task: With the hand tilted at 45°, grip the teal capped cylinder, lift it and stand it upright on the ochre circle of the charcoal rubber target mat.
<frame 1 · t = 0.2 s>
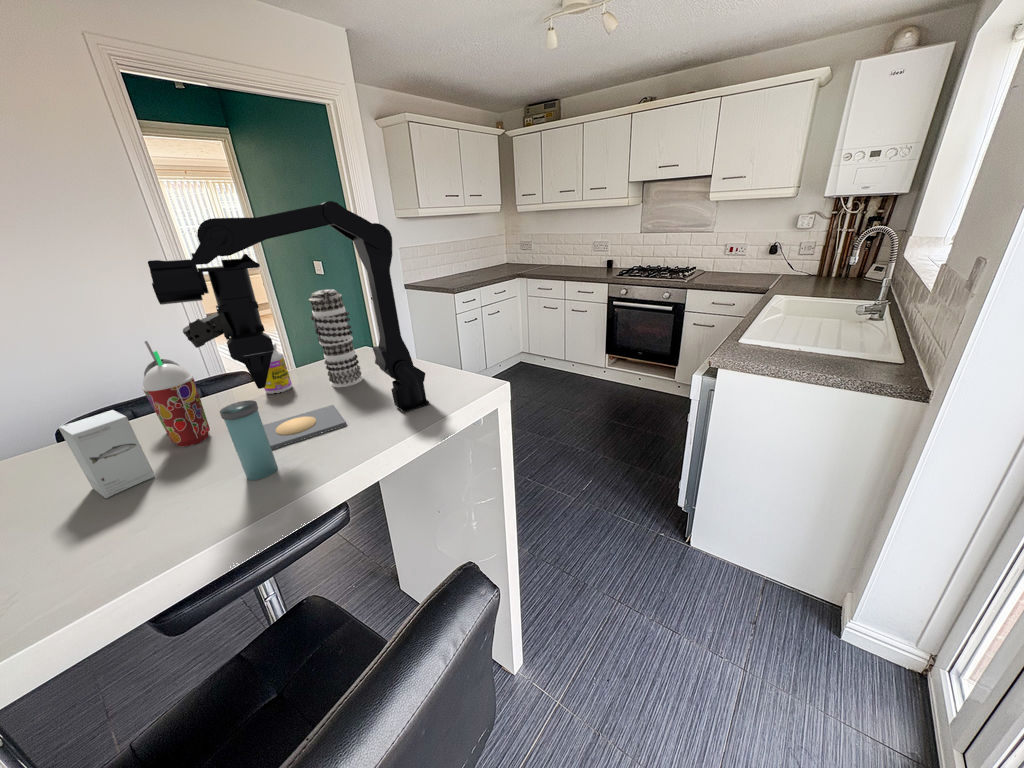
hand: (258, 381, 77), 14 cm above the table, tool pointing down, fingers open, 9 cm apart
supplement box: (125, 483, 75), on the table
decorative candle: (346, 382, 114), on the table
smoothie: (193, 441, 88), on the table
supplement bottle: (279, 390, 113), on the table
beverage cup: (185, 423, 97), on the table
teal capped cylinder: (262, 471, 74), on the table
target mat: (297, 429, 89), on the table
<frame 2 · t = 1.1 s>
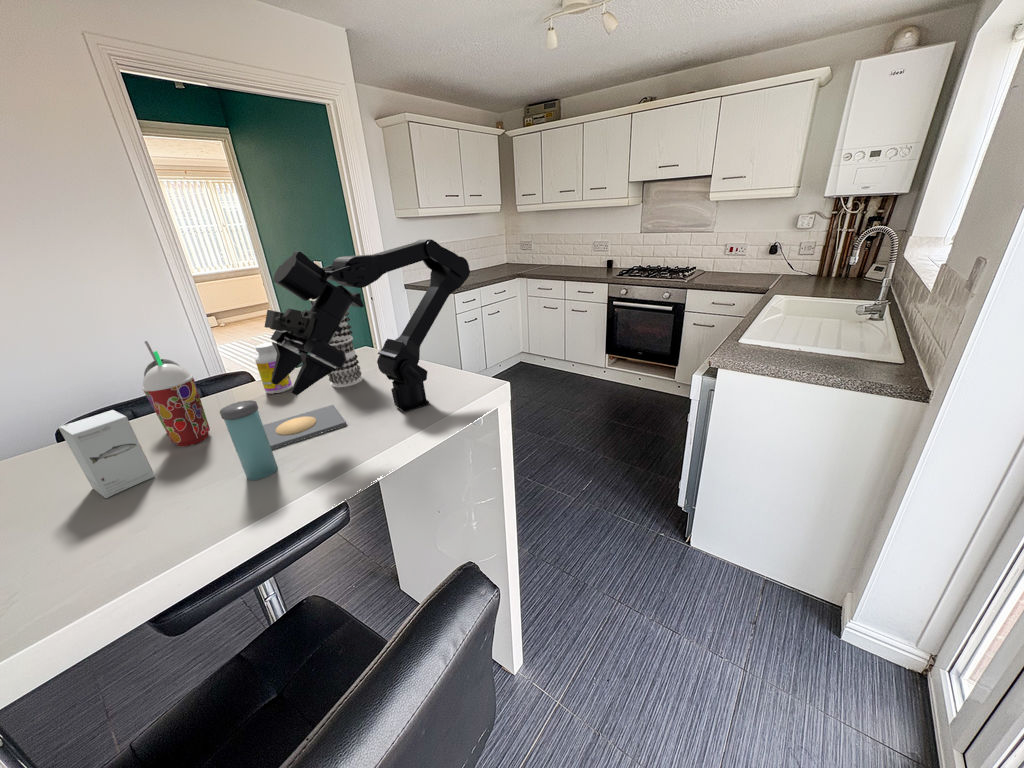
hand: (283, 388, 74), 14 cm above the table, tool tilted 45°, fingers open, 9 cm apart
nothing on the table moved.
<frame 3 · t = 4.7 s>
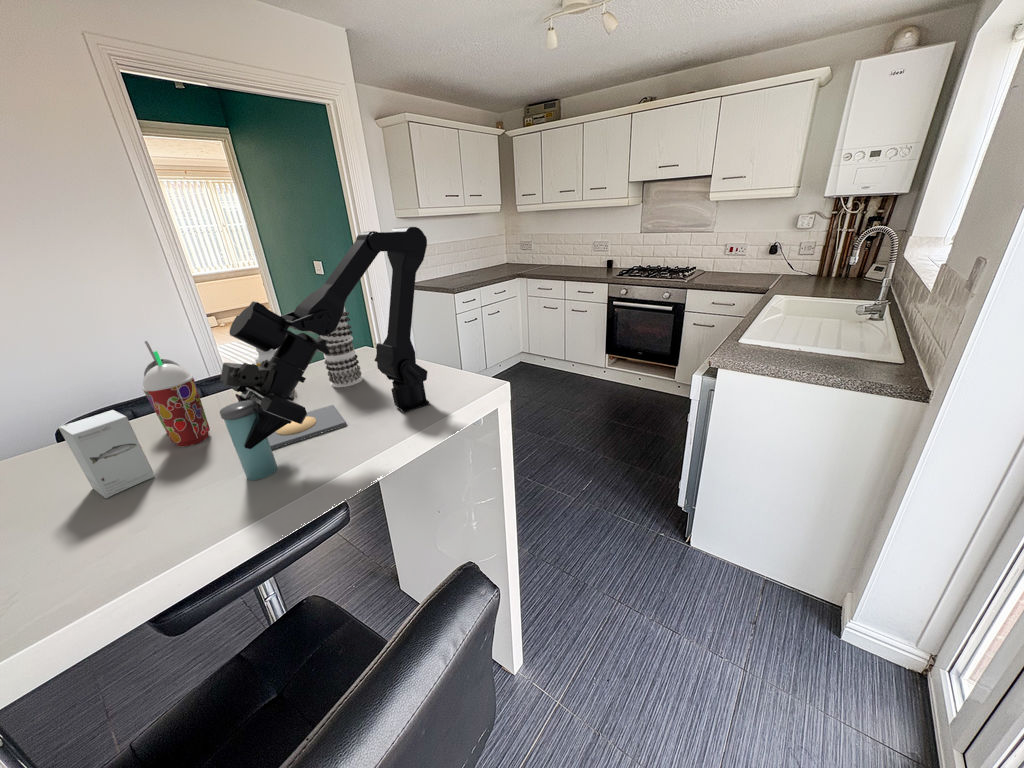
hand: (241, 443, 71), 7 cm above the table, tool tilted 45°, fingers closed on teal capped cylinder, 5 cm apart
teal capped cylinder: (262, 471, 74), on the table, touching gripper
everything else where it was.
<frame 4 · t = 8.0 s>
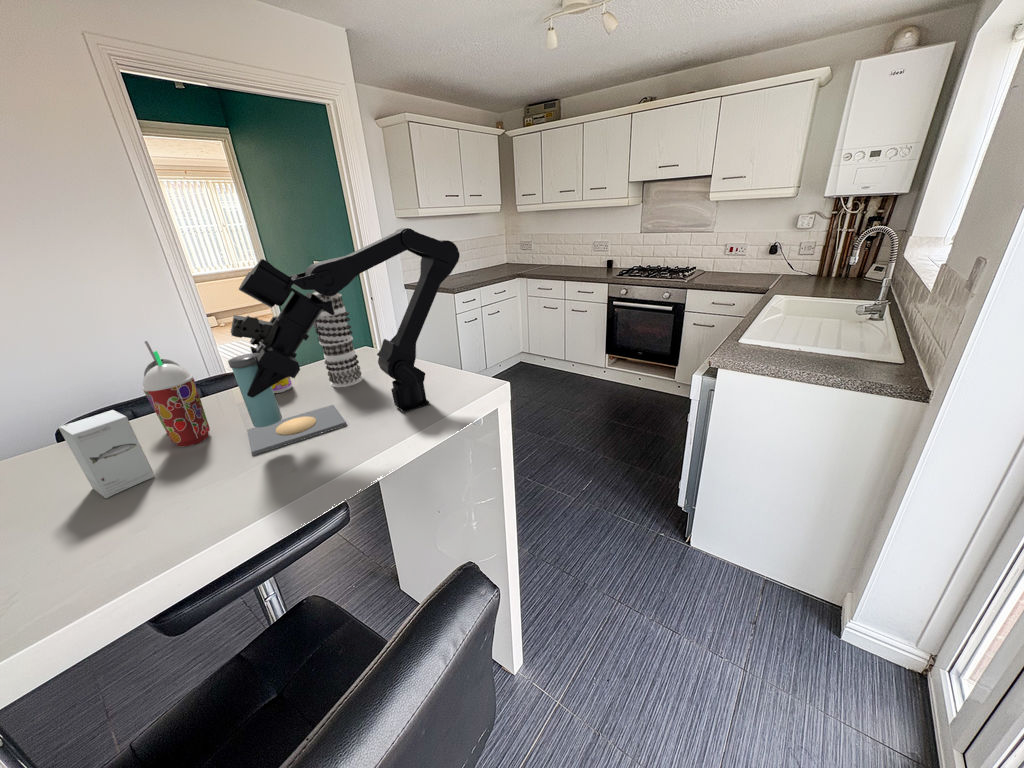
hand: (248, 392, 76), 13 cm above the table, tool tilted 45°, fingers closed on teal capped cylinder, 5 cm apart
teal capped cylinder: (267, 421, 80), point 6 cm above the table, touching gripper
everything else where it was.
when the fingers open (8 cm above the table, at t = 11.1 s): teal capped cylinder stays where it is, resting on target mat.
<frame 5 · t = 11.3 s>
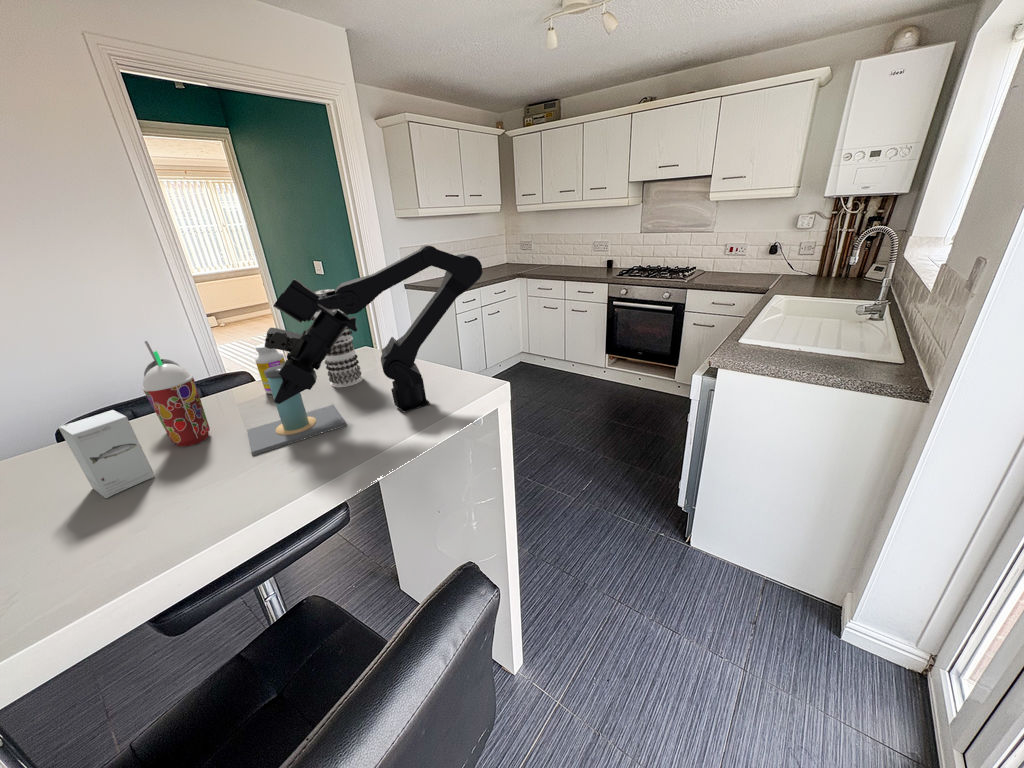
hand: (279, 395, 86), 8 cm above the table, tool tilted 45°, fingers open, 7 cm apart
teal capped cylinder: (296, 425, 89), point 1 cm above the table, touching target mat
everything else where it was.
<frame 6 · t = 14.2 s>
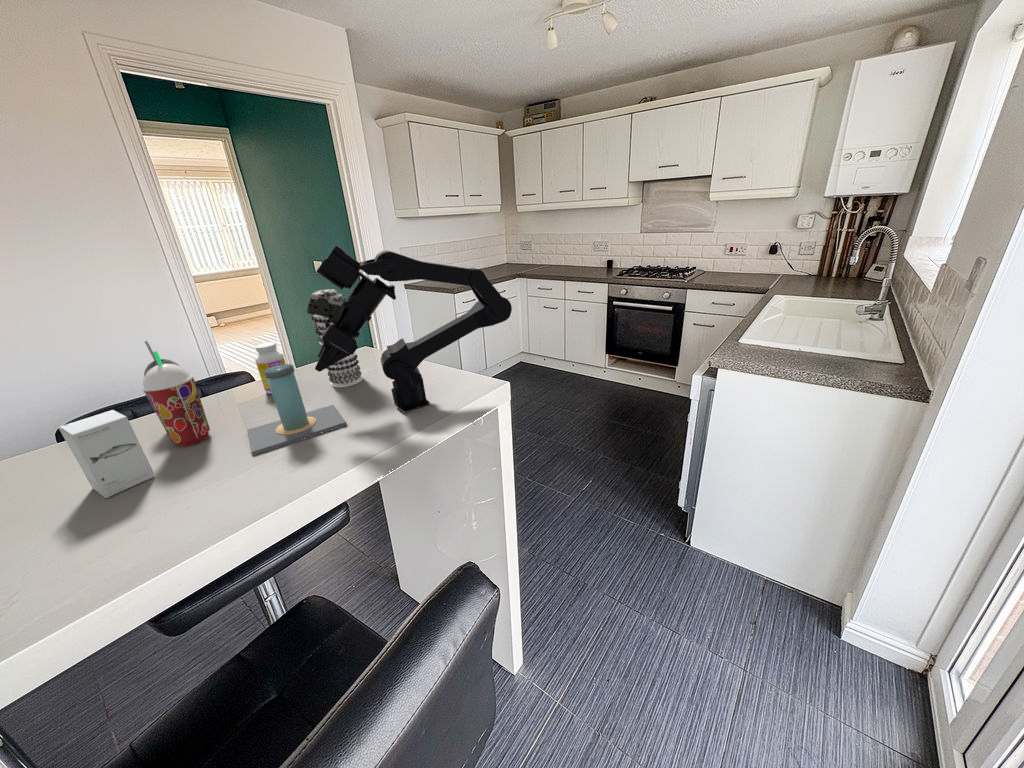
hand: (318, 363, 86), 14 cm above the table, tool tilted 45°, fingers open, 9 cm apart
nothing on the table moved.
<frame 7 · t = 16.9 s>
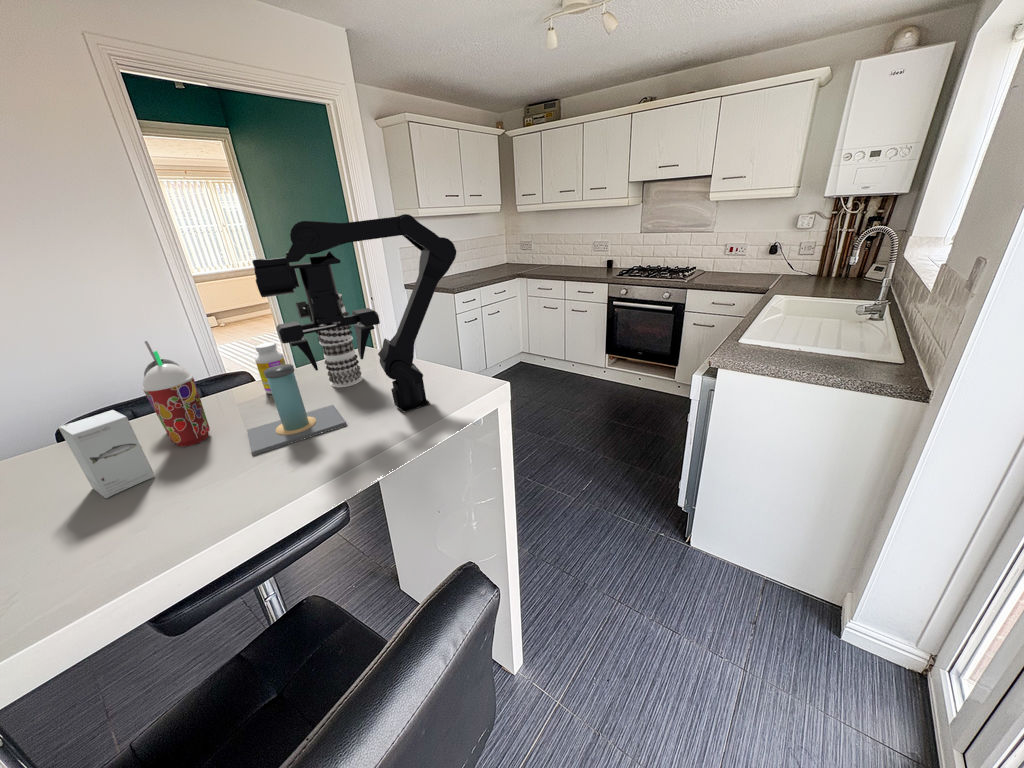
hand: (339, 364, 87), 13 cm above the table, tool pointing down, fingers open, 9 cm apart
nothing on the table moved.
at the end: teal capped cylinder inside the target area on the target mat (0.0 cm from its centre), point 1.0 cm above the target mat's base; teal capped cylinder tilted 0°; the gripper is holding nothing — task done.
